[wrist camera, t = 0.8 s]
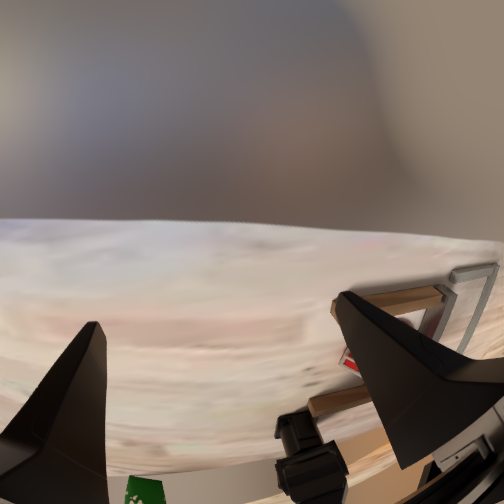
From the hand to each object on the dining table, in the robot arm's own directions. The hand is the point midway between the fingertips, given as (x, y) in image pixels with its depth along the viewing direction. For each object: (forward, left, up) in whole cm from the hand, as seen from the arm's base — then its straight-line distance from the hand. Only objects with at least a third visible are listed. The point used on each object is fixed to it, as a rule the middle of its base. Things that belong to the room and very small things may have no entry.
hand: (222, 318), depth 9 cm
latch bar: (-18, -29, -14) cm, 37 cm away
